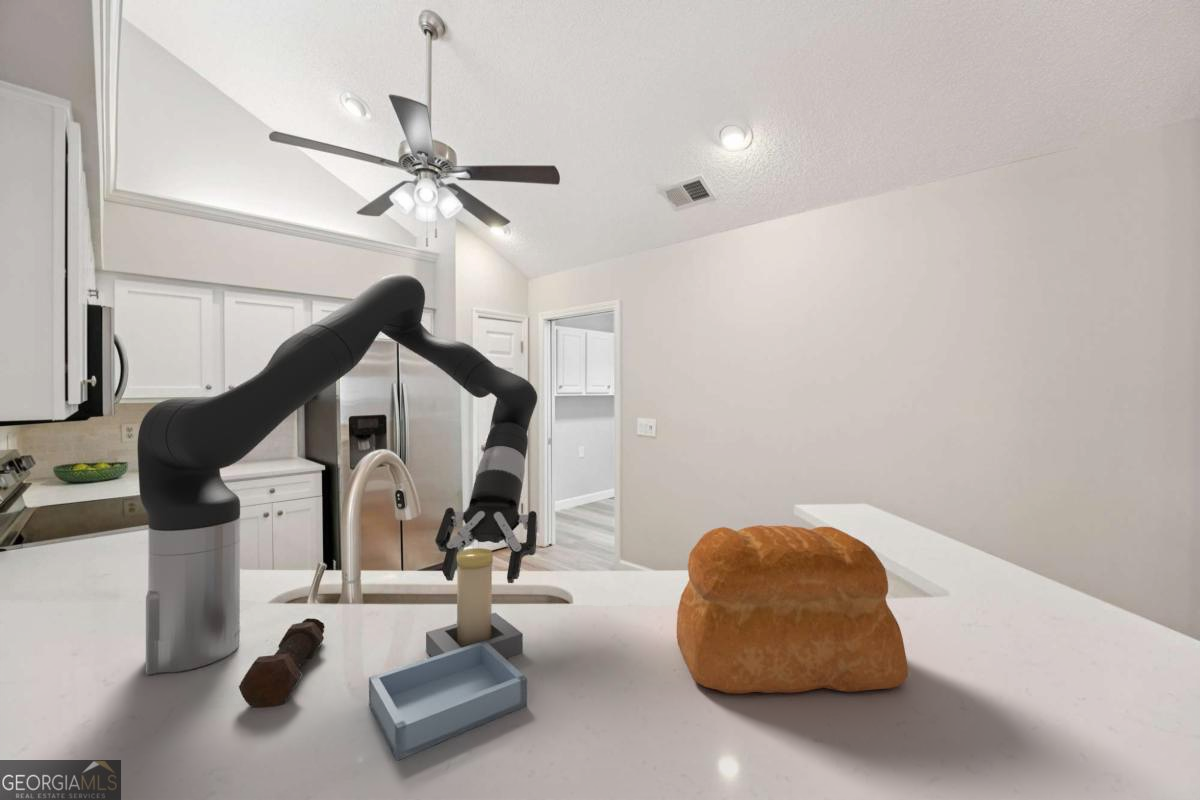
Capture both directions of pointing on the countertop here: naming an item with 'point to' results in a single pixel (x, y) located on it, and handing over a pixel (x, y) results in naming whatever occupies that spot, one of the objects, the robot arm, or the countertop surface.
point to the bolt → (282, 666)
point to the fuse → (474, 596)
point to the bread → (788, 613)
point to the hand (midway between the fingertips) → (479, 579)
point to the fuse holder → (502, 641)
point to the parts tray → (444, 696)
